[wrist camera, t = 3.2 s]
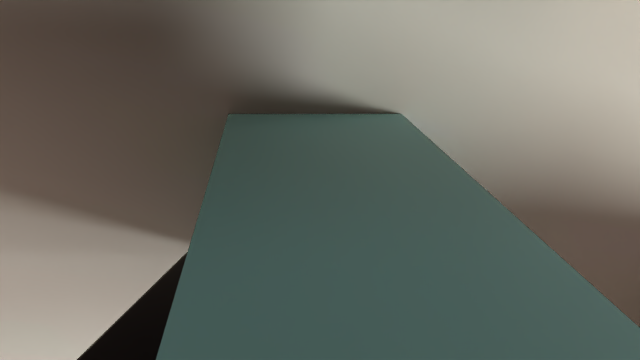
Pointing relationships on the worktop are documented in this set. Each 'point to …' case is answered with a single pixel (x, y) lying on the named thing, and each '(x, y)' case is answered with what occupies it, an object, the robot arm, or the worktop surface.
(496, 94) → the worktop surface
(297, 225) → the peg
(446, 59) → the worktop surface
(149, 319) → the robot arm
